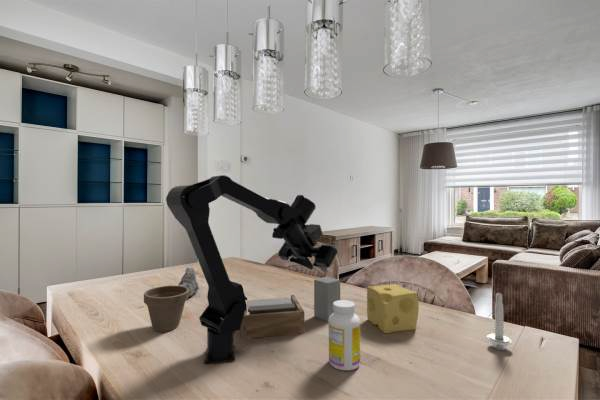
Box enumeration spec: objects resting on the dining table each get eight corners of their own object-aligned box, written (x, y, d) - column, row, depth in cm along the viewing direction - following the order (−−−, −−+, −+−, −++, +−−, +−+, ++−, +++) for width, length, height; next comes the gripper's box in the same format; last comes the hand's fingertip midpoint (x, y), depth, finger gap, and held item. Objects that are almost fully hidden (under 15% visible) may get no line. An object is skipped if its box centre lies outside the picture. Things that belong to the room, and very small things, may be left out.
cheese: (384, 334, 80) (384, 296, 80) (365, 319, 91) (365, 285, 91) (419, 330, 83) (419, 292, 83) (396, 315, 93) (396, 282, 93)
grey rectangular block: (327, 321, 89) (327, 283, 88) (314, 316, 93) (314, 279, 93) (340, 316, 92) (340, 279, 92) (326, 311, 96) (326, 276, 96)
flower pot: (198, 324, 87) (198, 288, 87) (161, 340, 77) (161, 299, 77) (171, 316, 93) (171, 282, 93) (134, 330, 83) (134, 292, 83)
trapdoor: (296, 317, 83) (296, 307, 83) (248, 321, 80) (248, 310, 80) (289, 303, 94) (289, 294, 94) (246, 306, 91) (246, 297, 91)
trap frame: (304, 332, 81) (304, 311, 81) (242, 338, 78) (242, 316, 78) (293, 313, 95) (293, 294, 95) (241, 317, 92) (241, 298, 92)
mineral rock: (184, 302, 106) (184, 273, 106) (160, 298, 110) (160, 270, 109) (208, 291, 118) (208, 265, 118) (186, 288, 121) (186, 263, 121)
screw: (514, 348, 72) (506, 354, 70) (492, 341, 76) (483, 346, 73) (514, 293, 72) (506, 297, 69) (492, 288, 76) (483, 291, 73)
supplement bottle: (356, 355, 69) (356, 298, 69) (363, 371, 63) (363, 308, 63) (326, 355, 69) (326, 298, 69) (330, 372, 63) (330, 309, 63)
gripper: (333, 216, 85) (355, 252, 93) (285, 214, 97) (307, 245, 105) (315, 248, 79) (340, 283, 87) (266, 242, 91) (291, 273, 100)
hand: (318, 269), depth 95 cm, fingers open, 5 cm apart
